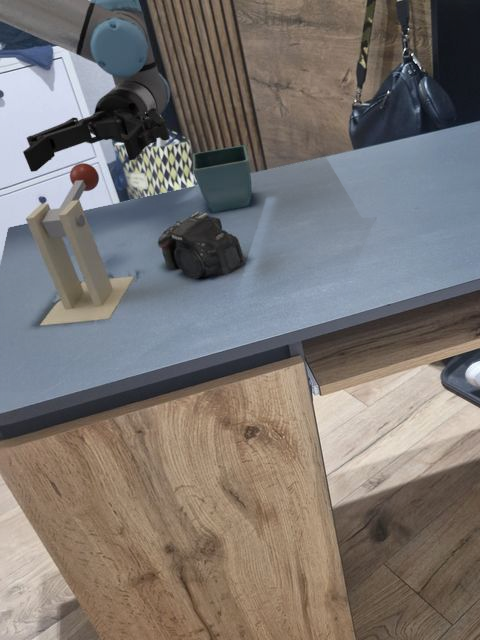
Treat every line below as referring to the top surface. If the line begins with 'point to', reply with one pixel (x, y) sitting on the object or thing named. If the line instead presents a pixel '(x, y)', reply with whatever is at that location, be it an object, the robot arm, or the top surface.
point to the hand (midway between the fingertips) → (78, 155)
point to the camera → (200, 247)
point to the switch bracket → (75, 297)
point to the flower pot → (224, 177)
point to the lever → (71, 197)
